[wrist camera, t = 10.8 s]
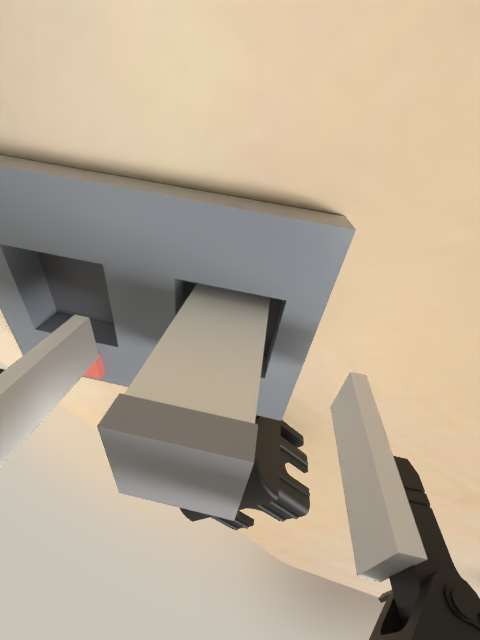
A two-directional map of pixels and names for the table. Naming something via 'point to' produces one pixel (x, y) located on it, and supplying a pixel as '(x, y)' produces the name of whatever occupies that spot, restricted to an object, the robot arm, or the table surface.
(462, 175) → the table surface
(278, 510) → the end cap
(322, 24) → the table surface
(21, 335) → the socket plate
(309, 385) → the table surface
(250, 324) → the plug
